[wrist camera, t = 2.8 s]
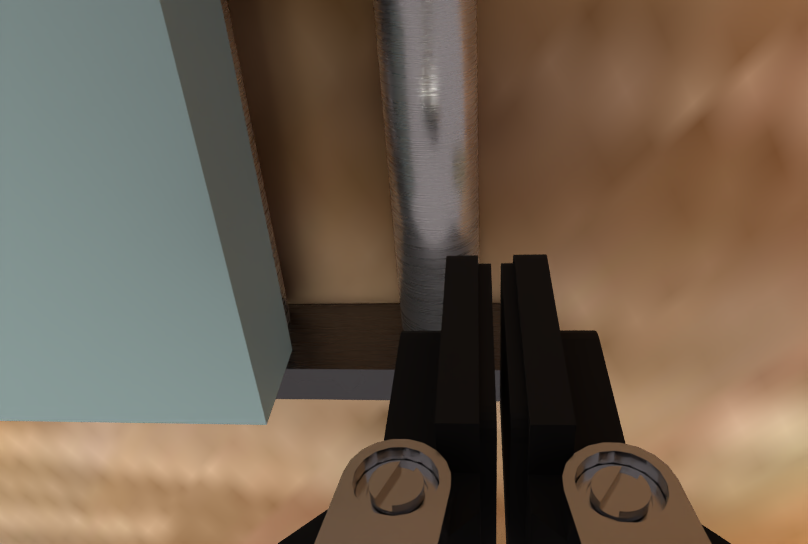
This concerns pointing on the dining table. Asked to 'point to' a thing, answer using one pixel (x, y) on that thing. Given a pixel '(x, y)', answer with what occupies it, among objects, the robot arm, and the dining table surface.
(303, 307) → the roller track
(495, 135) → the dining table surface
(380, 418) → the dining table surface
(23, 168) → the slab
